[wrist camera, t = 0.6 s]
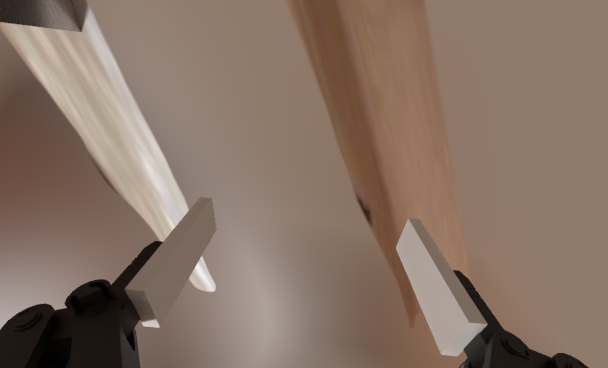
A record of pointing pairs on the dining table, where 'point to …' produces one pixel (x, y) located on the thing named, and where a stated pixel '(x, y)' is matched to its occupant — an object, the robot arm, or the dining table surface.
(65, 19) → the socket
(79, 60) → the dining table surface
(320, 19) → the dining table surface
